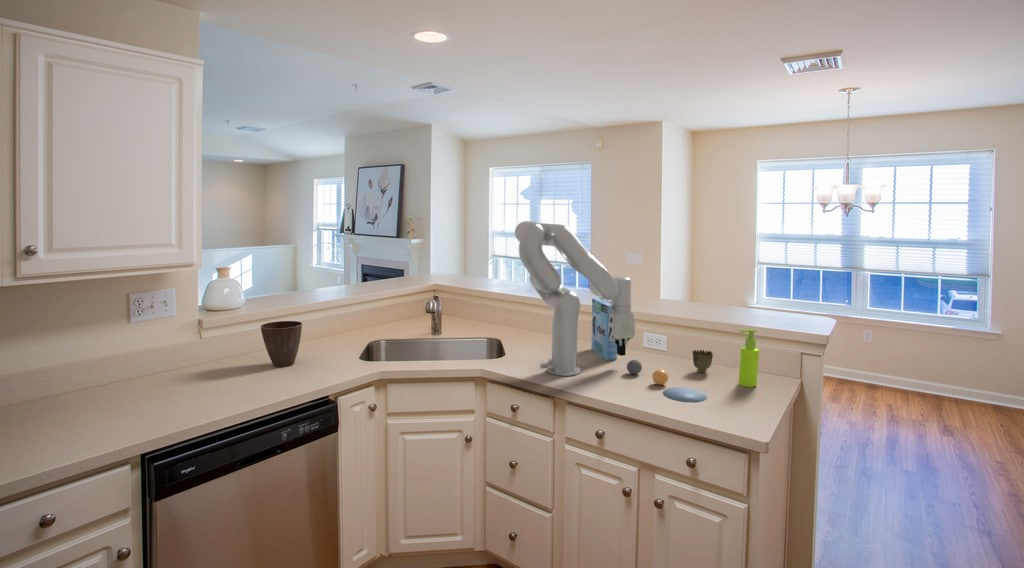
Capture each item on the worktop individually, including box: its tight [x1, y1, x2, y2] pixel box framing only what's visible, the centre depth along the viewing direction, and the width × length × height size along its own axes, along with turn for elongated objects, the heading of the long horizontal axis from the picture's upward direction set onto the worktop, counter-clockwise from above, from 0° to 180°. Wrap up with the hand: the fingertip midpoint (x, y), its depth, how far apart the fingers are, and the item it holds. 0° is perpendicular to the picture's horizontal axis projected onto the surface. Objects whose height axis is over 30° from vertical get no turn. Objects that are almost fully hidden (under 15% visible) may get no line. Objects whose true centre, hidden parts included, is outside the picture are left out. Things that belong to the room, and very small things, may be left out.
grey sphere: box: [626, 359, 643, 375], centre depth 210 cm, size 6×6×6 cm
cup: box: [692, 349, 714, 374], centre depth 213 cm, size 8×7×8 cm
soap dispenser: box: [738, 328, 760, 388], centre depth 198 cm, size 6×7×20 cm
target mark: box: [662, 387, 708, 403], centre depth 188 cm, size 14×14×1 cm
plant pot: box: [260, 320, 303, 368], centre depth 218 cm, size 15×15×16 cm
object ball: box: [652, 368, 669, 386], centre depth 198 cm, size 6×6×6 cm
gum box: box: [591, 297, 618, 361], centre depth 237 cm, size 20×5×23 cm, turn 10°
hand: (621, 354), depth 218 cm, fingers closed
